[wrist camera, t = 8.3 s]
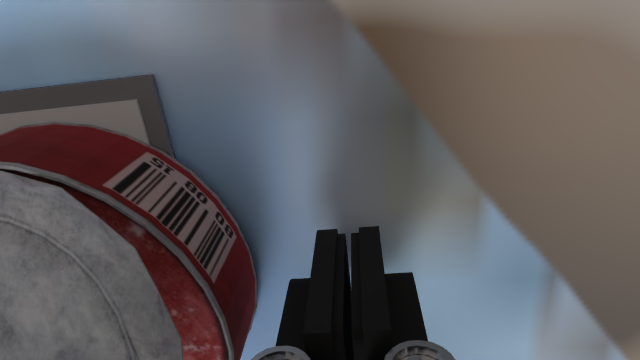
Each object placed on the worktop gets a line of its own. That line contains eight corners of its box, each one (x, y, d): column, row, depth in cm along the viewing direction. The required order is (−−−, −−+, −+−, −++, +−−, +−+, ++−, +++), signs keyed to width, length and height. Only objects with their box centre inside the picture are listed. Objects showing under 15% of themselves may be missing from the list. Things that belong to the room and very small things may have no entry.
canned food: (55, 245, 19) (-379, 363, 10) (153, 57, 14) (-478, -18, 6) (210, 480, 16) (-204, 915, 7) (392, 338, 11) (-125, 1029, 3)
